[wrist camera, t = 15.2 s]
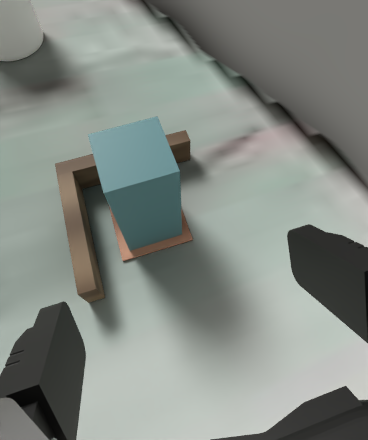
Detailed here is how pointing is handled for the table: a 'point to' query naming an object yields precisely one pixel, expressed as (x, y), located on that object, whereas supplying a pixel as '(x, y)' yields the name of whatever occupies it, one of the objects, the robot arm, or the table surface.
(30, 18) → the cup
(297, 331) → the table surface
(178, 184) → the teal block
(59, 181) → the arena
